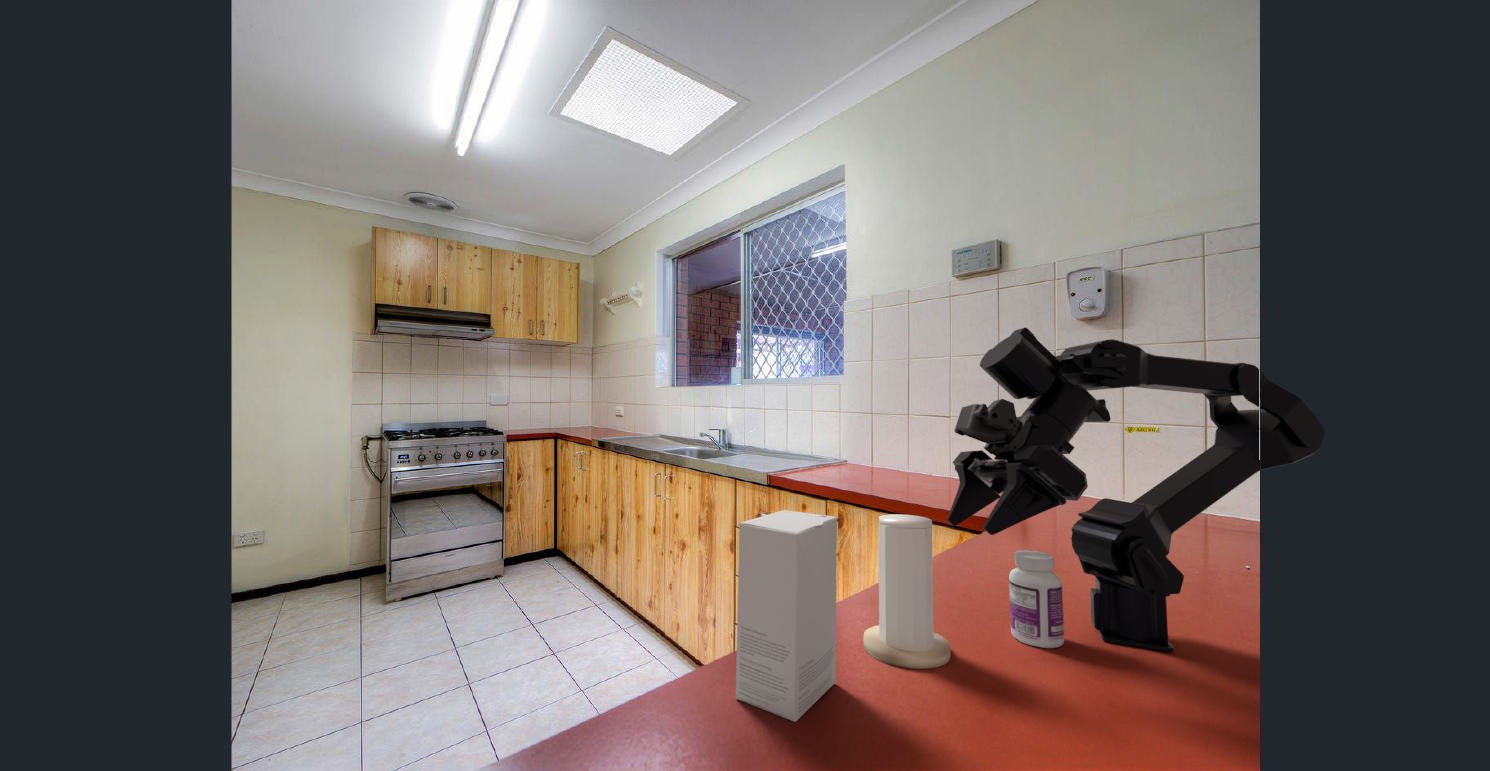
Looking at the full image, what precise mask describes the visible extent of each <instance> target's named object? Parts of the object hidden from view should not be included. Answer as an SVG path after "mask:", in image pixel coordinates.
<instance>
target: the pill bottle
mask: <svg viewBox="0 0 1490 771" xmlns="http://www.w3.org/2000/svg"><path fill="white" fill-rule="evenodd" d="M1054 559H1055V558H1054V556H1053V555H1052V554H1049V553H1046V552H1042V551H1036V550H1016V551H1015V552H1014V563H1015V566H1017V567H1015V568H1013V569H1012V570H1011V571H1010V573H1009V576H1008V577H1009V578H1008V581H1009V584H1008V585H1009V587H1008V588H1009V612H1010V613H1009V614H1010V615H1009V616H1010V617H1009V618H1010V632H1011V635H1012V636H1013V638H1014V639H1016V641H1018V642H1021V643H1022V644H1025V645H1029V646H1033V647H1038V648H1041V649H1055V648H1059V647H1060V648H1061V646H1063V645H1064V643H1065V629H1064V628H1065V624H1064V603H1063V601H1064V600H1063V598H1064V597H1063V584H1062V580H1061V579H1060V577H1059V576H1058V575H1057V574H1056V573H1055V572H1053V571H1054V568H1055V561H1054Z"/></svg>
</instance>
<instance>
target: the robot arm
mask: <svg viewBox="0 0 1490 771" xmlns="http://www.w3.org/2000/svg"><path fill="white" fill-rule="evenodd" d="M979 368H980V369H982V370H984V372H985V373H987V375H989V376H990V377H991V378H992V379H993V380H994V381H995V382H996V383H997V384H999V386H1000V387H1002V388H1003V390H1004V391H1006V392H1007V393H1008V394H1009V395H1010V396H1011V397H1012V398H1013V399H1016V400H1021V399H1028V400H1033V401H1031V403H1030V404H1029V405H1028V407H1027V408H1026V409H1024V411H1023V413H1021V415H1020V416H1017V414H1016V409H1015V403H1014V402H1011V401H1010V400H1006V399H1004V398H1000V399H996V400H993V401H992V402H991V403H990V404H989V405H988V406H987V404H985V403H982V404H979V403H973V404H970V405H969V404H968V405H965V406H962V407H961V409H960V413H959V415H958V419H957V422H956V425H955V428H954V433H955V434H958V435H959V436H961V437H962V436H966V437H969V438H972V439H974V440H976V441H980V442H983V443H985V445H984V446H983V449H984V450H985V451H987V452H988V454H990V455H993V456H995V457H994V459H993V458H992V457H991V456H990V455H988V454H987V453H986V452H985V451H984V450H969V451H968V450H967V451H960V452H959V454H958V455H957V456H956V458H954V460H953V461H952V464H953V466H954V470H955V472H956V473H957V475H958V480H959V485H958V488H957V491H956V495H955V497H954V500H953V503H952V505H951V507H950V511H949V514H948V515H947V519H946V520H947V522H948V523H949V524H950V525H951V526H952V527H953V526H954V527H955V526H957V525H959V524H961V523H962V522H964V521H966V520H968V519H969V518H970V517H972V516H973V515H975V514H976V513H978V512H980V511H981V510H984V508H987V506H989V505H991V504H993V503H994V502H995V501H997V502H996V504H995V506H994V507H993V508H992V510H991V512H990V513H989V516H988V518H987V519H986V521H985V524H984V525H983V530H984V531H985V532H986V533H988V534H989V535H992V536H994V535H997V534H998V533H1001V532H1003V531H1005V530H1006V529H1009V528H1011V527H1013V526H1015V525H1017V524H1020V523H1022V522H1024V521H1026V520H1028V519H1030V518H1032V517H1035V516H1037V515H1039V514H1041V513H1045V512H1046V511H1048V510H1051V509H1053V508H1056V507H1059V506H1064V505H1066V503H1067V501H1074V502H1075V501H1077V502H1078V501H1079V499H1080V498H1081V497H1082V495H1083V494H1084V492H1085V491H1086V489H1087V488H1088V487H1089V486H1088V478H1087V474H1086V473H1085V471H1083V470H1082V469H1081V468H1079V466H1077V465H1076V464H1075V463H1074V462H1072V461H1071V460H1070V459H1069V457H1066V455H1070V454H1071V453H1072V452H1073V450H1074V449H1075V446H1074V445H1072V444H1071V443H1070V442H1071V440H1072V439H1073V438H1074V437H1075V435H1076V434H1077V432H1078V431H1080V428H1081V427H1082V426H1083V425H1084V424H1085V423H1109V422H1110V421H1111V414H1110V411H1109V409H1108V408H1107V405H1106V403H1107V402H1106V399H1104V398H1100V399H1099V398H1098V399H1097V398H1095V397H1094V395H1092V394H1091V392H1089V391H1099V390H1110V389H1111V390H1112V389H1122V388H1130V387H1131V388H1139V389H1140V388H1141V389H1150V390H1151V389H1152V390H1160V391H1161V390H1162V391H1169V392H1171V391H1172V392H1180V393H1192V394H1199V395H1200V394H1202V395H1204V396H1205V398H1206V399H1207V400H1208V403H1209V405H1208V406H1209V418H1210V420H1211V421H1212V422H1213V423H1214V425H1215V426H1216V429H1215V434H1214V437H1215V438H1214V444H1213V445H1212V446H1210V447H1209V448H1207V449H1206V450H1204V451H1203V452H1202V453H1200V454H1199V455H1198V456H1196V457H1195V458H1193V459H1191V461H1189V462H1188V463H1186V464H1185V465H1183V466H1182V467H1180V468H1179V469H1178V470H1176V471H1174V472H1173V473H1172V474H1171V475H1169V476H1168V477H1166V478H1165V479H1163V480H1162V481H1160V482H1159V483H1158V484H1156V485H1155V486H1153V487H1152V488H1151V489H1149V490H1148V491H1146V492H1144V493H1143V494H1142V495H1141V496H1139V497H1138V498H1136V499H1134V501H1132V502H1129V501H1124V500H1117V499H1112V498H1106V497H1104V498H1102V499H1100V500H1098V501H1097V502H1096V503H1095V504H1094V505H1093V506H1092V507H1091V508H1090V509H1088V510H1086V511H1083V512H1082V511H1081V512H1079V513H1078V516H1079V517H1080V519H1078V520H1077V521H1076V522H1074V524H1073V526H1072V528H1071V532H1072V534H1071V538H1070V540H1071V546H1072V549H1073V552H1074V554H1075V555H1076V556H1077V557H1078V560H1079V562H1080V566H1081V568H1082V571H1083V572H1084V573H1085V574H1086V575H1091V576H1095V580H1094V581H1095V588H1094V587H1092V588H1090V590H1089V592H1090V594H1089V595H1090V596H1089V597H1090V618H1091V620H1090V621H1091V623H1092V626H1093V627H1094V629H1095V630H1097V632H1098V633H1099V635H1100V638H1101V639H1102V640H1103V641H1106V642H1110V643H1116V644H1123V645H1127V646H1128V645H1129V646H1134V647H1139V648H1147V649H1153V650H1159V651H1165V652H1172V653H1173V652H1174V650H1175V648H1174V646H1173V644H1172V643H1171V642H1170V641H1169V634H1168V633H1169V628H1168V610H1167V598H1168V597H1170V596H1171V595H1179V594H1180V593H1181V592H1182V586H1183V584H1184V578H1185V576H1184V574H1183V573H1182V572H1181V571H1180V570H1179V569H1178V567H1177V566H1175V564H1174V563H1173V562H1171V560H1170V558H1169V559H1168V557H1167V556H1168V555H1169V554H1170V549H1171V543H1172V542H1171V541H1172V536H1173V535H1174V533H1175V532H1176V531H1178V530H1179V529H1181V528H1182V527H1183V526H1185V525H1187V524H1188V523H1189V522H1190V521H1192V520H1193V519H1194V518H1196V517H1197V516H1199V515H1200V514H1201V513H1203V512H1204V511H1206V510H1207V509H1208V508H1211V506H1212V505H1214V504H1215V503H1217V502H1218V501H1219V500H1221V499H1222V498H1224V497H1225V496H1226V495H1228V494H1229V493H1230V492H1232V491H1233V490H1235V489H1236V488H1238V486H1240V485H1241V484H1243V483H1244V482H1245V481H1247V480H1248V479H1249V478H1251V477H1252V476H1254V475H1255V474H1257V473H1258V472H1261V471H1264V470H1268V469H1269V470H1270V469H1274V468H1278V467H1283V466H1288V465H1292V464H1294V463H1297V462H1300V461H1301V460H1304V459H1306V458H1308V457H1311V456H1313V455H1314V454H1316V453H1317V451H1318V450H1319V449H1320V448H1321V446H1322V445H1323V441H1324V439H1325V430H1324V426H1323V425H1322V422H1320V420H1319V419H1318V417H1316V415H1315V414H1314V413H1313V411H1311V409H1310V408H1309V407H1308V405H1306V403H1305V402H1304V401H1303V400H1302V399H1301V398H1300V397H1299V396H1297V395H1295V394H1294V393H1292V392H1290V391H1288V390H1287V389H1285V388H1283V387H1281V386H1279V385H1278V384H1275V382H1272V381H1270V380H1268V378H1267V377H1266V376H1265V374H1264V373H1263V372H1262V371H1261V379H1260V389H1261V392H1260V398H1261V408H1260V409H1240V410H1239V409H1238V408H1237V407H1236V406H1235V405H1234V403H1233V402H1232V397H1235V396H1236V397H1237V396H1240V397H1241V396H1243V397H1244V399H1246V401H1248V402H1249V403H1251V404H1253V405H1254V406H1256V407H1257V408H1259V370H1260V368H1258V367H1257V366H1256V365H1254V364H1252V363H1246V362H1235V363H1231V362H1222V361H1221V362H1220V361H1211V360H1203V359H1202V360H1201V359H1194V358H1184V357H1183V358H1182V357H1174V356H1173V357H1172V356H1166V355H1165V356H1164V355H1155V354H1151V353H1149V352H1146V351H1145V350H1143V349H1142V348H1141V347H1140V346H1138V345H1135V344H1131V343H1128V342H1124V341H1121V340H1117V339H1113V338H1112V339H1105V340H1100V341H1094V342H1088V343H1084V344H1080V345H1074V346H1069V347H1066V348H1065V349H1064V350H1063V351H1062V353H1061V354H1060V355H1056V356H1055V355H1054V354H1053V353H1052V352H1051V351H1050V350H1048V348H1047V347H1046V346H1044V345H1043V344H1042V343H1041V342H1040V341H1039V340H1038V338H1037V337H1036V336H1035V334H1034V333H1033V332H1032V331H1031V330H1030V329H1029V328H1027V327H1022V328H1019V329H1018V328H1017V329H1015V330H1013V331H1012V333H1011V334H1010V335H1009V336H1008V337H1006V338H1005V339H1002V340H1001V341H1000V342H999V343H998V344H996V345H995V346H994V347H993V348H991V349H988V350H987V352H986V353H985V354H984V355H983V356H982V358H981V359H980V361H979ZM1259 410H1261V471H1260V460H1259Z"/></svg>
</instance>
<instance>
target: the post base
mask: <svg viewBox="0 0 1490 771" xmlns="http://www.w3.org/2000/svg"><path fill="white" fill-rule="evenodd" d="M863 648H864V650H865V652H866V653H867V654H868V655H870V656H871V657H873V658H874V659H876V660H879V661H881V662H883V663H886V664H889V665H893V666H895V667H896V666H897V667H900V668H905V669H916V670H918V669H919V670H920V669H921V670H925V669H926V670H927V669H928V670H929V669H935V668H939V667H942V666H945V665H946V664H948V663H949V661H950V660H951V644H950V642H949V641H948V640H947V639H946V638H945V637H944V636H942V635H941V634H938V633H937V632H934V647H932V648H930V649H928V650H924V651H907V650H900V649H896V648H894V647H891V646H888V645H886V644H885V643H884V642H882V641H881V640H880V639H879V624H877V625H874V626H870V627H869V628H867V629H866V630H865V631H864V632H863Z"/></svg>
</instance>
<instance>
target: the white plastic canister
mask: <svg viewBox="0 0 1490 771" xmlns="http://www.w3.org/2000/svg"><path fill="white" fill-rule="evenodd" d="M878 520H879V521H878V609H879V610H878V611H879V612H878V618H879V619H878V621H879V622H878V625H879V639H880V640H881V641H882V642H884V643H885V644H886V645H888V646H891V647H894V648H896V649H900V650H907V651H924V650H928V649H930V648H932V647H934V628H935V627H934V578H933V577H934V570H933V567H934V564H933V563H934V562H933V561H934V560H933V519H930V518H928V517H925V516H920V515H912V514H900V513H898V514H896V513H891V514H889V513H888V514H882V515H880V516H878Z"/></svg>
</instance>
